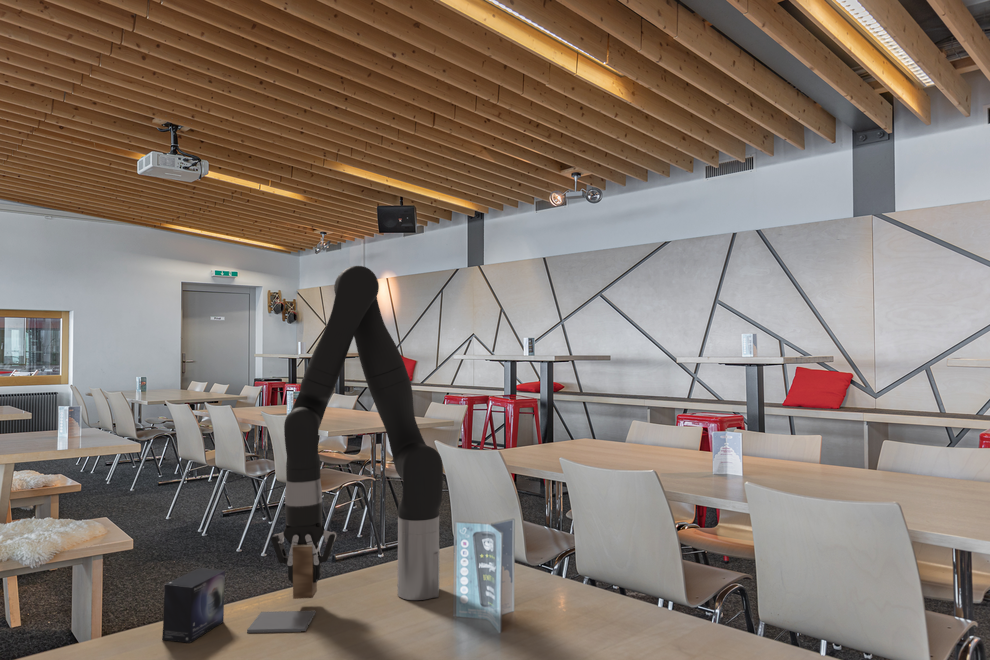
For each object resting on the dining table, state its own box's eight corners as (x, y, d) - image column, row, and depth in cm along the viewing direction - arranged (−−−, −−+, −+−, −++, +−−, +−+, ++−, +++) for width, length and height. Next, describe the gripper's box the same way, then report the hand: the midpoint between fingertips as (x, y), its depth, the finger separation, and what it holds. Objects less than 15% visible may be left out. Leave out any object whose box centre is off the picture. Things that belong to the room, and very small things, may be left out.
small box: (191, 644, 122) (192, 586, 122) (160, 641, 123) (161, 584, 124) (225, 621, 132) (226, 568, 133) (197, 619, 134) (197, 566, 134)
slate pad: (315, 613, 136) (315, 610, 136) (305, 631, 127) (305, 628, 127) (261, 614, 136) (261, 611, 136) (247, 632, 127) (247, 629, 127)
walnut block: (316, 591, 142) (316, 539, 143) (312, 598, 138) (311, 545, 139) (298, 591, 142) (297, 540, 142) (293, 598, 138) (292, 545, 138)
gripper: (340, 495, 145) (342, 574, 144) (275, 497, 144) (276, 577, 144) (333, 503, 137) (335, 587, 137) (264, 505, 137) (265, 589, 136)
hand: (304, 581), depth 140 cm, fingers closed on walnut block, 4 cm apart
